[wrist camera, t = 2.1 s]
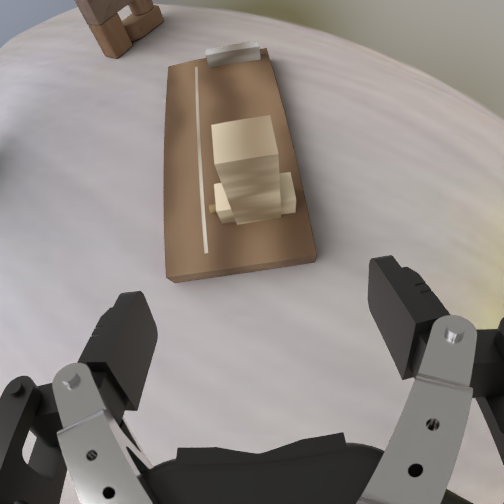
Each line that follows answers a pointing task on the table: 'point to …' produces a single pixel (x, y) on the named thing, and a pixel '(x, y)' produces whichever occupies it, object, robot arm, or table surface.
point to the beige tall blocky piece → (249, 173)
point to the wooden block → (119, 22)
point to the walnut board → (205, 174)
